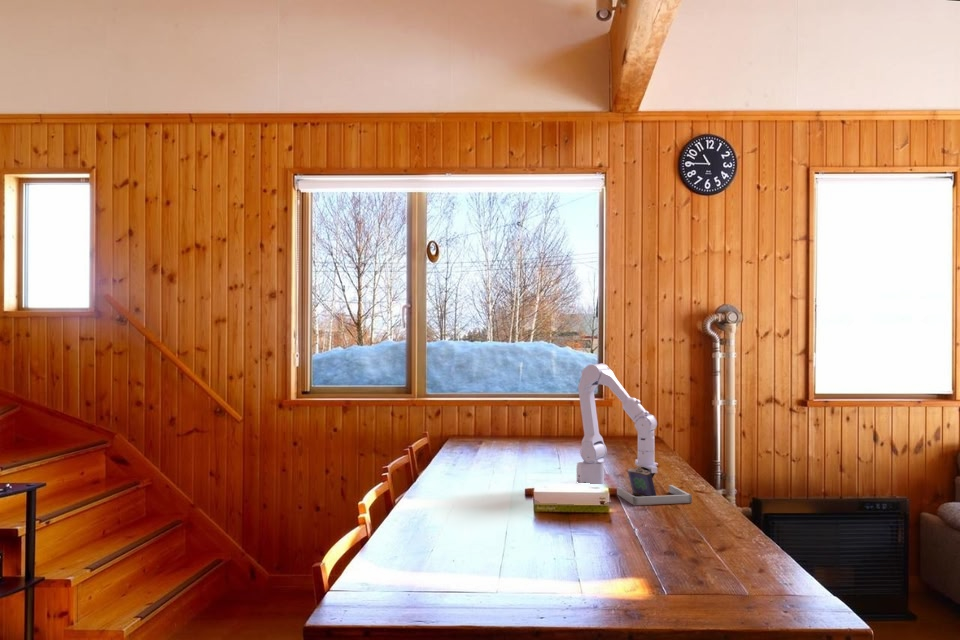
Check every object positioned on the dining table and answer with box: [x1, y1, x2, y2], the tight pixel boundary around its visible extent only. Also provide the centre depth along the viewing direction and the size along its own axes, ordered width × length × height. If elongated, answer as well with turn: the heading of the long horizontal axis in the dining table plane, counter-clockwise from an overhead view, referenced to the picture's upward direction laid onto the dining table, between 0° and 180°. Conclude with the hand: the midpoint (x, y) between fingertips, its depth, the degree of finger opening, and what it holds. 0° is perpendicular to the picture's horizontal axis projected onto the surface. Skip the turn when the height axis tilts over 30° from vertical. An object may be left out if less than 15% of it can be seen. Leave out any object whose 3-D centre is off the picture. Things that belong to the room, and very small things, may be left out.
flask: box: [627, 465, 658, 497], centre depth 250 cm, size 9×3×11 cm, turn 43°
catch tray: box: [616, 484, 693, 506], centre depth 247 cm, size 20×15×2 cm
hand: (645, 489), depth 254 cm, fingers closed
